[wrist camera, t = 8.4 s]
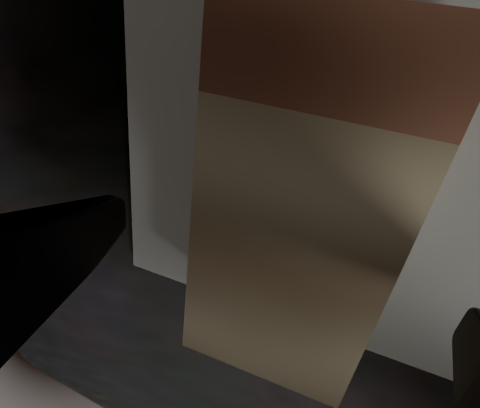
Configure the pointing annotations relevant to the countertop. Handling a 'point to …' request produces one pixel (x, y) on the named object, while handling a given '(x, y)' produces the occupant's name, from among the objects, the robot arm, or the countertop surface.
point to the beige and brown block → (317, 174)
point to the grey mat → (181, 180)
